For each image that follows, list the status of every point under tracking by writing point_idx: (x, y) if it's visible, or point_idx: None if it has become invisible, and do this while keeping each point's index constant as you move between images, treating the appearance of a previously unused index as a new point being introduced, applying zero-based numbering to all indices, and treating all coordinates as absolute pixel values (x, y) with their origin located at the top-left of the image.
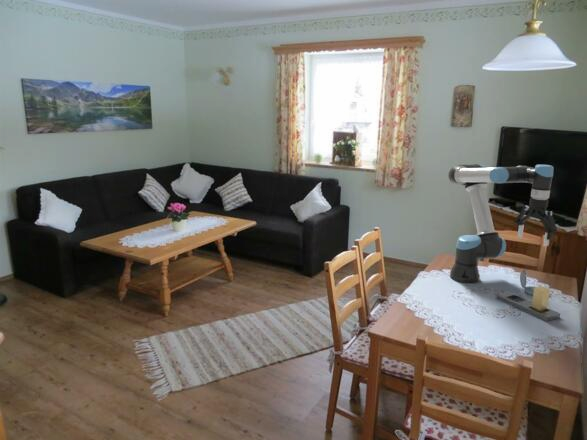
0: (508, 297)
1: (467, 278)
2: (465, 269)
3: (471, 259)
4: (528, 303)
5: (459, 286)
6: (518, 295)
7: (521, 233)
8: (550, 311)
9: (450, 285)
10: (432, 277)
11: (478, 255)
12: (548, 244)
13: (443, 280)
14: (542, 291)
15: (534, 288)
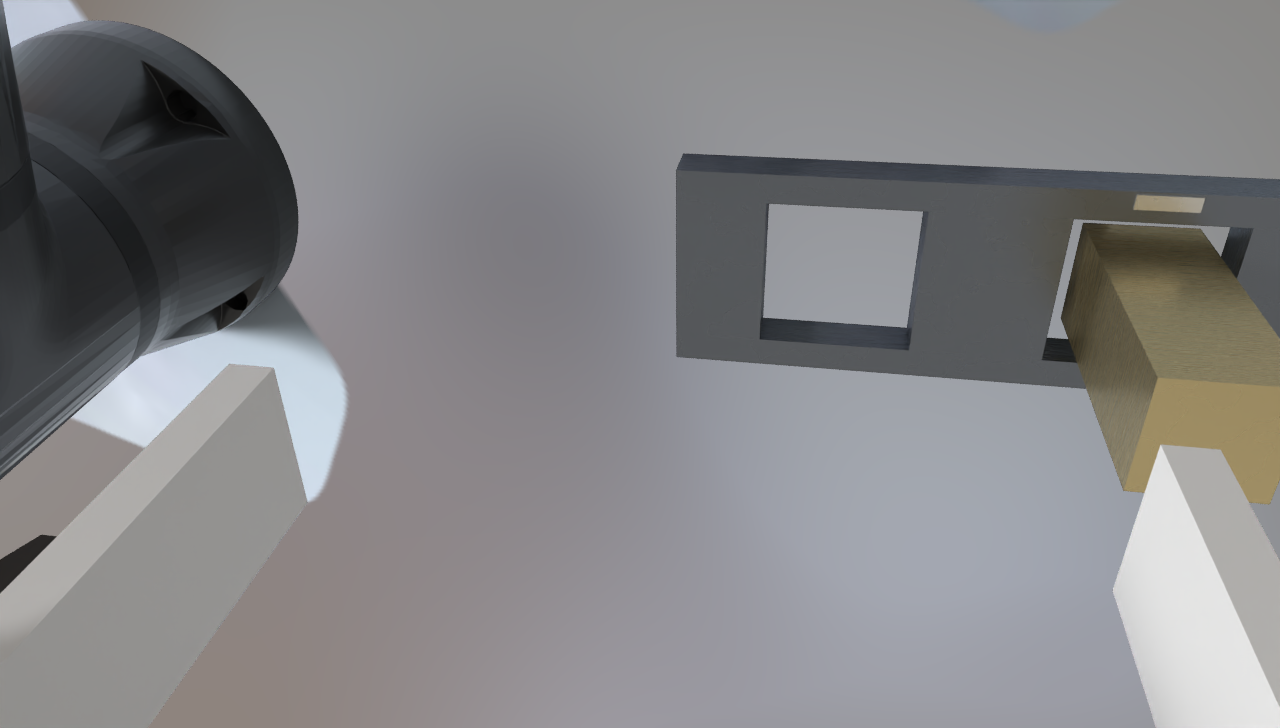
0: (762, 282)
1: (257, 293)
2: (167, 337)
3: (96, 371)
4: (994, 273)
5: (343, 392)
6: (801, 178)
7: (208, 511)
8: (1262, 250)
9: (305, 438)
10: (110, 429)
11: (43, 303)
12: (1235, 481)
13: (188, 403)
14: (1246, 496)
15: (1122, 482)
